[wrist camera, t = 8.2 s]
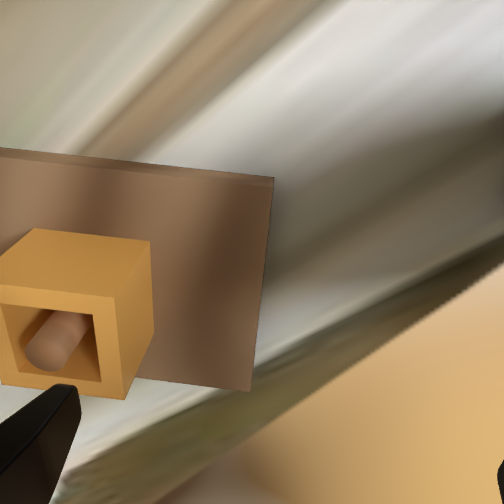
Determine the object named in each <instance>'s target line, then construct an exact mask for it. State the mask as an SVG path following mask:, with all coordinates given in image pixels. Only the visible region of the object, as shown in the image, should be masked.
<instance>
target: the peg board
mask: <svg viewBox="0 0 504 504" xmlns="http://www.w3.org/2000/svg"><path fill="white" fill-rule="evenodd" d="M273 185H274V177H266V176H257V175H248V174H239V173H229V172H220V171H211V170H202V169H193V168H184V167H175V166H166V165H157V164H147V163H138V162H129V161H120V160H111V159H102V158H93V157H84V156H74V155H65V154H56V153H47V152H38V151H29V150H20V149H11V148H2V147H0V256H1V255H3V254H4V253H5V252H6V251H7V250H9V249H10V248H11V247H12V246H13V245H14V244H16V243H17V242H18V241H19V240H20V239H22V238H23V237H24V236H25V235H26V234H28V233H29V232H30V231H31V230H32V229H34V228H38V229H46V230H55V231H64V232H73V233H82V234H91V235H99V236H108V237H117V238H126V239H135V240H144V241H150V257H151V278H152V299H153V320H154V334H153V337H152V339H151V341H150V343H149V346H148V348H147V350H146V353H145V355H144V357H143V359H142V362H141V364H140V366H139V368H138V371H137V373H136V375H135V377H137V378H145V379H152V380H160V381H168V382H175V383H183V384H191V385H198V386H206V387H214V388H221V389H229V390H237V391H244V392H250V389H251V381H252V373H253V364H254V355H255V346H256V337H257V328H258V319H259V310H260V301H261V292H262V283H263V275H264V266H265V257H266V248H267V239H268V230H269V221H270V212H271V203H272V194H273ZM92 322H93V314H85V313H77V312H69V311H60V310H55V311H54V312H53V313H52V314H51V316H50V317H49V318H48V319H47V320H46V322H45V323H44V324H43V325H42V327H41V328H40V329H39V330H38V332H37V333H36V334H35V335H34V337H33V338H32V339H31V340H30V342H29V343H28V344H27V345H26V347H25V355H26V358H27V359H28V361H29V362H30V363H31V364H32V365H34V366H35V367H37V368H39V369H41V370H44V371H49V372H54V371H58V370H60V369H62V368H63V367H64V365H65V364H66V362H67V361H68V359H69V358H70V356H71V355H72V353H73V351H74V350H75V348H76V347H77V345H78V344H79V342H80V341H81V339H82V338H83V336H84V335H85V333H86V332H87V330H88V328H89V327H90V325H91V324H92Z"/></svg>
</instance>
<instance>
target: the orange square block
mask: <svg viewBox="0 0 504 504" xmlns="http://www.w3.org/2000/svg"><path fill="white" fill-rule="evenodd" d="M55 310H60V311H69V312H77V313H85V314H93V322H92V324H91V325H90V327H89V328H88V330H87V332H86V333H85V335H84V336H83V338H82V339H81V341H80V342H79V344H78V345H77V347H76V348H75V350H74V351H73V353H72V355H71V356H70V358H69V359H68V361H67V362H66V364H65V365H64V367H63V368H62V369H60V370H58V371H54V372H49V371H44V370H41V369H39V368H37V367H35V366H34V365H32V364H31V363H30V362H29V361H28V359H27V358H26V355H25V347H26V345H27V344H28V343H29V342H30V340H31V339H32V338H33V337H34V335H35V334H36V333H37V332H38V330H39V329H40V328H41V327H42V325H43V324H44V323H45V322H46V320H47V319H48V318H49V317H50V316H51V314H52V313H53V312H54V311H55ZM153 334H154V320H153V299H152V278H151V257H150V241H144V240H135V239H126V238H117V237H108V236H99V235H91V234H82V233H73V232H64V231H55V230H46V229H38V228H34V229H32V230H31V231H30V232H29V233H28V234H26V235H25V236H24V237H23V238H22V239H20V240H19V241H18V242H17V243H16V244H14V245H13V246H12V247H11V248H10V249H9V250H7V251H6V252H5V253H4V254H3V255H1V256H0V379H1V383H2V384H3V385H10V386H18V387H26V388H33V389H41V390H47V389H49V388H50V387H52V386H53V385H55V384H58V383H62V384H69V385H74V386H76V387H77V389H78V394H80V395H87V396H95V397H103V398H111V399H118V400H125V398H126V395H127V393H128V391H129V389H130V386H131V384H132V382H133V380H134V377H135V375H136V373H137V371H138V368H139V366H140V364H141V362H142V359H143V357H144V355H145V353H146V350H147V348H148V346H149V343H150V341H151V339H152V337H153Z"/></svg>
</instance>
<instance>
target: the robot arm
mask: <svg viewBox="0 0 504 504" xmlns="http://www.w3.org/2000/svg"><path fill="white" fill-rule="evenodd" d="M81 413H82V412H81V405H80V399H79V394H78V389H77V387H76V386H74V385H69V384H62V383H58V384H55V385H53V386H52V387H50V388H49V389H47V390H46V391H45V392H43V393H42V394H40V395H39V396H38V397H36V398H35V399H34V400H32V401H31V402H29V403H28V404H27V405H25V406H24V407H23V408H21V409H20V410H18V411H17V412H16V413H14V414H13V415H12V416H10V417H9V418H7V419H6V420H5V421H3V422H2V423H0V504H49V502H50V500H51V497H52V495H53V493H54V490H55V488H56V485H57V483H58V480H59V477H60V475H61V472H62V469H63V467H64V464H65V461H66V458H67V456H68V453H69V450H70V448H71V445H72V442H73V440H74V437H75V434H76V432H77V429H78V426H79V423H80V420H81ZM497 479H498V485H499V490H500V494H501V499H502V503H503V504H504V460H503V462H502V464H501V465H500V467H499V469H498V473H497Z"/></svg>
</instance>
